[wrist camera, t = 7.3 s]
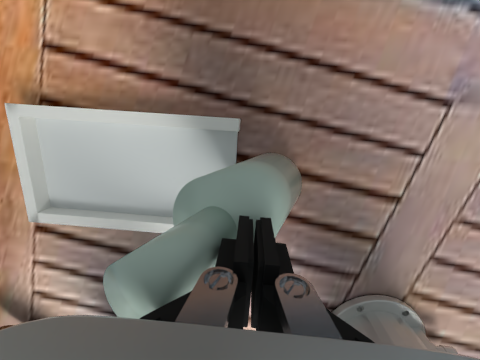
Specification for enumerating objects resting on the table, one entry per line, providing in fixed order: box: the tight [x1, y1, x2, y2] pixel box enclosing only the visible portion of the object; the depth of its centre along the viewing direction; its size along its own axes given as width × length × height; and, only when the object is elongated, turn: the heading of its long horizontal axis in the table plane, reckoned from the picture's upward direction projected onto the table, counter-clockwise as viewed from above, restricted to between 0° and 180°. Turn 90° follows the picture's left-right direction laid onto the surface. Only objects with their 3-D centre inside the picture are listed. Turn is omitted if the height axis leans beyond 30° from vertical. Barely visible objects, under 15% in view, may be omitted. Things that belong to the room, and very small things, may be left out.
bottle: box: [103, 153, 302, 319], centre depth 16 cm, size 6×6×18 cm
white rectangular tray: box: [5, 103, 241, 233], centre depth 24 cm, size 23×13×2 cm, turn 86°
